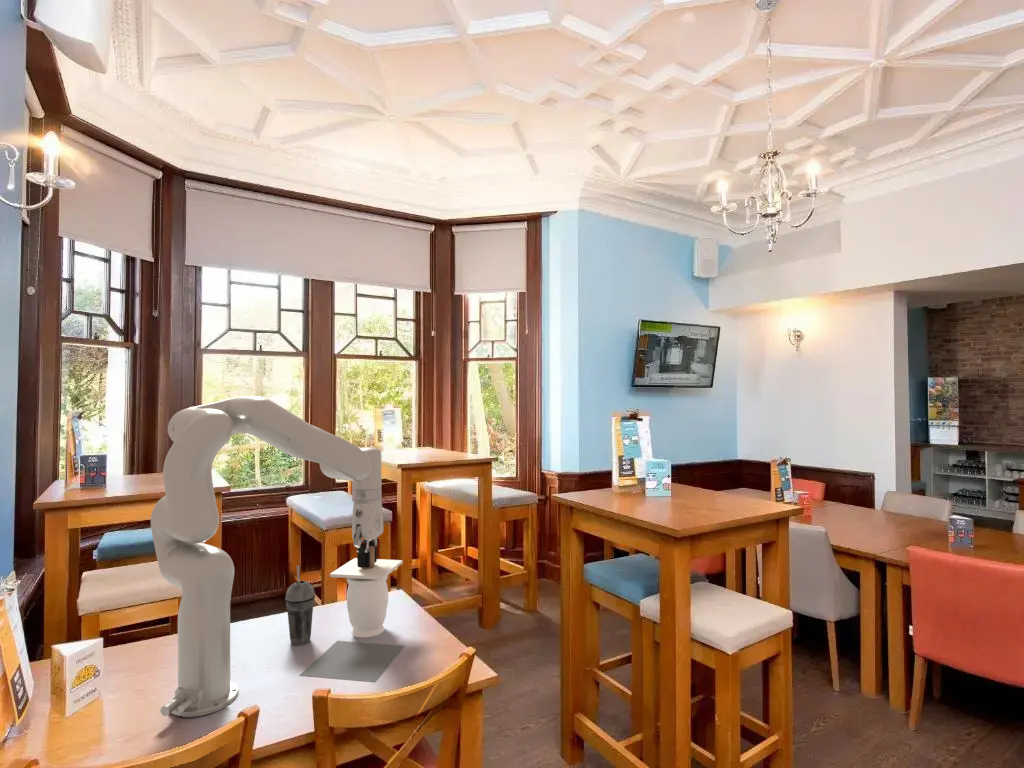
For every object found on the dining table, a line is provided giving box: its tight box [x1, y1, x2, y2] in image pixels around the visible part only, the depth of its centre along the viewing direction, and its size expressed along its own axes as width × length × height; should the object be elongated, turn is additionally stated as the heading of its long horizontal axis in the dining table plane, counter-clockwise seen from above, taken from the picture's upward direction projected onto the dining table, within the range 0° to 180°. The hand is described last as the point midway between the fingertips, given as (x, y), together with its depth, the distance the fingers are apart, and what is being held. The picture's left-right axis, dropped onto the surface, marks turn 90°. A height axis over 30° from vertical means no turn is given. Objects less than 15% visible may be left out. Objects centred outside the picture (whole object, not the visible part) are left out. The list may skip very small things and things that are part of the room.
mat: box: [298, 640, 406, 683], centre depth 135 cm, size 18×18×1 cm
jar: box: [346, 575, 389, 638], centre depth 152 cm, size 11×10×15 cm
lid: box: [329, 546, 404, 580], centre depth 152 cm, size 14×14×6 cm
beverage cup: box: [284, 565, 316, 647], centre depth 145 cm, size 7×7×20 cm
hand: (367, 563), depth 152 cm, fingers closed on lid, 3 cm apart
